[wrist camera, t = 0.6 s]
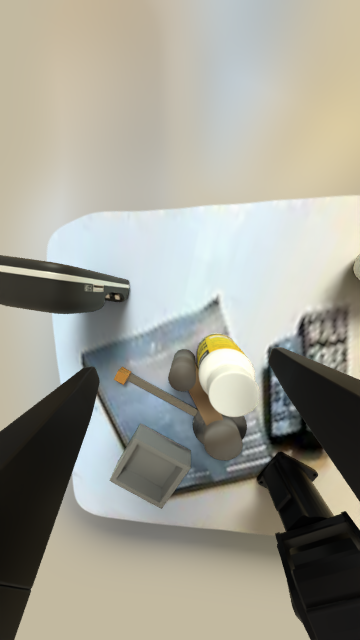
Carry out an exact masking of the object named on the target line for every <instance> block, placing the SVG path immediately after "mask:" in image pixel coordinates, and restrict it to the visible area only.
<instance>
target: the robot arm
mask: <svg viewBox="0 0 360 640" xmlns="http://www.w3.org/2000/svg"><path fill="white" fill-rule="evenodd" d="M269 364H270V366H271V368H272V370H273V372H274V373H275V375H276V377H277V379H278V381H279V382H280V384H281V386H282V388H283V389H284V391H285V393H286V394H287V396H288V397H289V399H290V400H291V402H292V403H293V404H294V406H295V407H296V409H297V410H298V412H299V413H300V415H301V416H302V418H303V419H304V421H305V422H306V424H307V425H308V426H309V428H310V429H311V431H312V432H313V434H314V435H315V437H316V438H317V440H318V441H319V443H320V444H321V445H322V447H323V448H324V450H325V451H326V453H327V454H328V456H329V457H330V459H331V460H332V462H333V463H334V465H335V466H336V467H337V469H338V470H339V472H340V473H341V475H342V476H343V478H344V479H345V481H346V482H347V484H348V485H349V486H350V488H351V489H352V491H353V492H354V494H355V495H356V497H357V498H358V500H359V501H360V380H359V379H356V378H354V377H351V376H349V375H347V374H344V373H342V372H339V371H337V370H335V369H332V368H330V367H327V366H325V365H323V364H320V363H318V362H315V361H313V360H311V359H308V358H306V357H304V356H301V355H299V354H296V353H294V352H292V351H289V350H287V349H284V348H282V347H277V348H273V349H272V351H271V354H270V357H269ZM98 387H99V377H98V374H97V371H96V369H95V367H93V366H91V367H84V368H83V369H81V370H80V371H79V372H77V373H76V374H75V375H74V376H72V377H71V378H70V379H68V380H67V381H66V382H64V383H63V384H62V385H60V386H59V387H58V388H57V389H55V390H54V391H53V392H51V393H50V394H49V395H47V396H46V397H45V398H43V399H42V400H41V401H40V402H38V403H37V404H36V405H34V406H33V407H32V408H31V409H29V410H28V411H27V412H25V413H24V414H23V415H21V416H20V417H19V418H17V419H16V420H15V421H13V422H12V423H11V424H10V425H8V426H7V427H6V428H4V429H3V430H2V431H0V640H14V639H15V636H16V633H17V630H18V627H19V624H20V621H21V619H22V616H23V613H24V610H25V607H26V604H27V601H28V598H29V595H30V592H31V590H30V589H31V588H32V586H33V583H34V580H35V578H36V575H37V572H38V569H39V566H40V563H41V560H42V558H43V554H44V552H45V549H46V546H47V543H48V540H49V537H50V534H51V532H52V529H53V526H54V523H55V520H56V517H57V514H58V511H59V509H60V506H61V503H62V500H63V497H64V494H65V491H66V488H67V485H68V483H69V480H70V477H71V474H72V471H73V468H74V465H75V462H76V460H77V457H78V454H79V451H80V448H81V445H82V442H83V439H84V437H85V434H86V431H87V428H88V425H89V422H90V419H91V416H92V412H93V408H94V404H95V399H96V395H97V391H98ZM317 476H318V473H317V472H316V471H315V470H314V469H312V468H311V467H309V466H307V465H305V464H303V463H301V462H300V461H298V460H296V459H294V458H292V457H290V456H289V455H287V454H285V453H283V452H279V453H278V454H277V455H276V456H275V458H274V459H273V460H272V461H271V462H270V464H269V465H268V466H267V467H266V468H265V470H264V471H263V472H262V473H261V474H260V476H259V477H258V478H257V481H258V483H259V484H260V485H261V486H263V487H265V488H267V489H268V490H269V493H270V495H271V498H272V501H273V503H274V506H275V508H276V510H277V511H278V513H279V515H280V518H281V520H282V523H283V525H284V528H285V530H286V532H283V533H276V534H275V535H276V539H277V542H278V544H277V548H278V551H279V554H280V557H281V560H282V564H283V567H284V571H285V575H286V578H287V583H288V587H289V593H290V598H291V603H292V607H293V610H294V612H295V615H296V616H297V617H298V619H299V620H300V621H301V622H302V623H303V625H304V627H305V629H306V631H307V633H308V635H309V637H310V639H311V640H360V530H359V529H358V527H357V526H356V525H355V523H354V522H353V520H352V519H351V518H350V516H349V515H348V514H347V512H346V511H344V512H341V514H339V515H336V516H334V515H333V514H332V512H331V511H330V509H329V507H328V506H327V504H326V503H325V501H324V500H323V498H322V497H321V495H320V493H319V492H318V490H317V489H316V487H315V486H314V484H313V483H312V482H313V481H314V480H315V479H316V478H317Z"/></svg>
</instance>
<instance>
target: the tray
mask: <svg viewBox="0 0 360 640" xmlns="http://www.w3.org/2000/svg"><path fill="white" fill-rule="evenodd" d="M190 468H191V450H189V449H187V448H185V447H183V446H182V445H180V444H178V443H176V442H174V441H172V440H171V439H169V438H167V437H165V436H163V435H161V434H159V433H158V432H156V431H154V430H152V429H150V428H148V427H147V426H145V425H143V424H141V423H140V425H139V427H138V428H137V430H136V432H135V433H134V435H133V437H132V439H131V440H130V442H129V444H128V446H127V447H126V449H125V451H124V452H123V454H122V456H121V458H120V459H119V461H118V463H117V465H116V467H115V469H114V472H113V474H112V476H111V478H110V481H111V482H113V483H115V484H116V485H118V486H120V487H122V488H124V489H126V490H128V491H129V492H131V493H133V494H135V495H137V496H139V497H141V498H142V499H144V500H146V501H148V502H150V503H152V504H154V505H155V506H157V507H159V508H161V509H162V508H163V506H164V505H165V503H166V502H167V501H168V499H169V498H170V496H171V495H172V493H173V492H174V491H175V489H176V488H177V486H178V485H179V484H180V482H181V481H182V479H183V478H184V476H185V475H186V474H187V472H188V471H189V469H190Z"/></svg>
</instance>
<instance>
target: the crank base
mask: <svg viewBox="0 0 360 640" xmlns="http://www.w3.org/2000/svg"><path fill="white" fill-rule="evenodd" d="M114 380H116V381H118V382H119V383H121V384H123V385H124V383H125V382H126V381H127V380H128V381H130V382H132V383H134V384H135V385H137V386H139V387H141V388H143V389H145V390H146V391H148V392H150V393H152V394H154V395H156V396H157V397H159V398H161V399H163V400H165V401H167V402H168V403H170V404H172V405H174V406H176V407H178V408H179V409H181V410H183V411H185V412H187V413H189V414H190V415H192V416H194V419H193V430H194V433H195V435H196V437H197V438H198V440H199V441H200V442H201V443H203V444H204V434H203V425H204V420H203V418H202V416H201V414H200V412H199V410H198V409H196V408H194V407H192V406H191V405H189V404H187V403H185V402H183V401H181V400H180V399H178V398H176V397H174V396H172V395H170V394H169V393H167V392H165V391H163V390H161V389H159V388H158V387H156V386H154V385H152V384H150V383H148V382H147V381H145V380H143V379H141V378H139V377H137V376H136V375H134V374H132V373H131V371H129V370H127V369H125V368H123V367H121V368H120V369H119V370H118V372H117V374H116V376H115V378H114ZM231 418H232V419H233V420H234V421H235V423H236V425H237V428H238V431H239V434H240V437H241V440H242V439H243V438H244V436H245V434H246V430H247V424H246V420H245V417H244V416H240V417H231Z"/></svg>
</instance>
